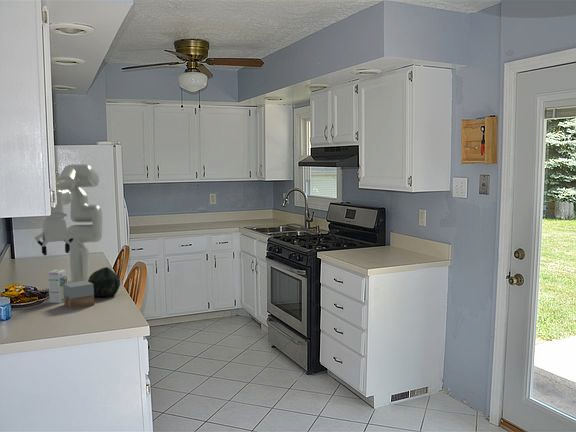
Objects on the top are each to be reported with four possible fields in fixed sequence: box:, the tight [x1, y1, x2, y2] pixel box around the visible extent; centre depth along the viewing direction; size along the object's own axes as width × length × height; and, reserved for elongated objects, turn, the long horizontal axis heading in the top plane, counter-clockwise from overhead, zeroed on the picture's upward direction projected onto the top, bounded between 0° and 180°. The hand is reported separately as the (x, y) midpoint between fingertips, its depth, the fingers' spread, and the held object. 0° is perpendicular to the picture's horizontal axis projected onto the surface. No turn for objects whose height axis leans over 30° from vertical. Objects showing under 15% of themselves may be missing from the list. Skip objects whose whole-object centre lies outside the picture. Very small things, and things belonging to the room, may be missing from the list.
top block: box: [63, 280, 94, 299], centre depth 237 cm, size 10×10×5 cm
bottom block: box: [63, 295, 95, 310], centre depth 238 cm, size 10×10×5 cm
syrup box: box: [47, 269, 68, 304], centre depth 244 cm, size 6×6×14 cm
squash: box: [88, 266, 121, 298], centre depth 254 cm, size 14×15×15 cm
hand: (56, 253), depth 242 cm, fingers open, 9 cm apart
